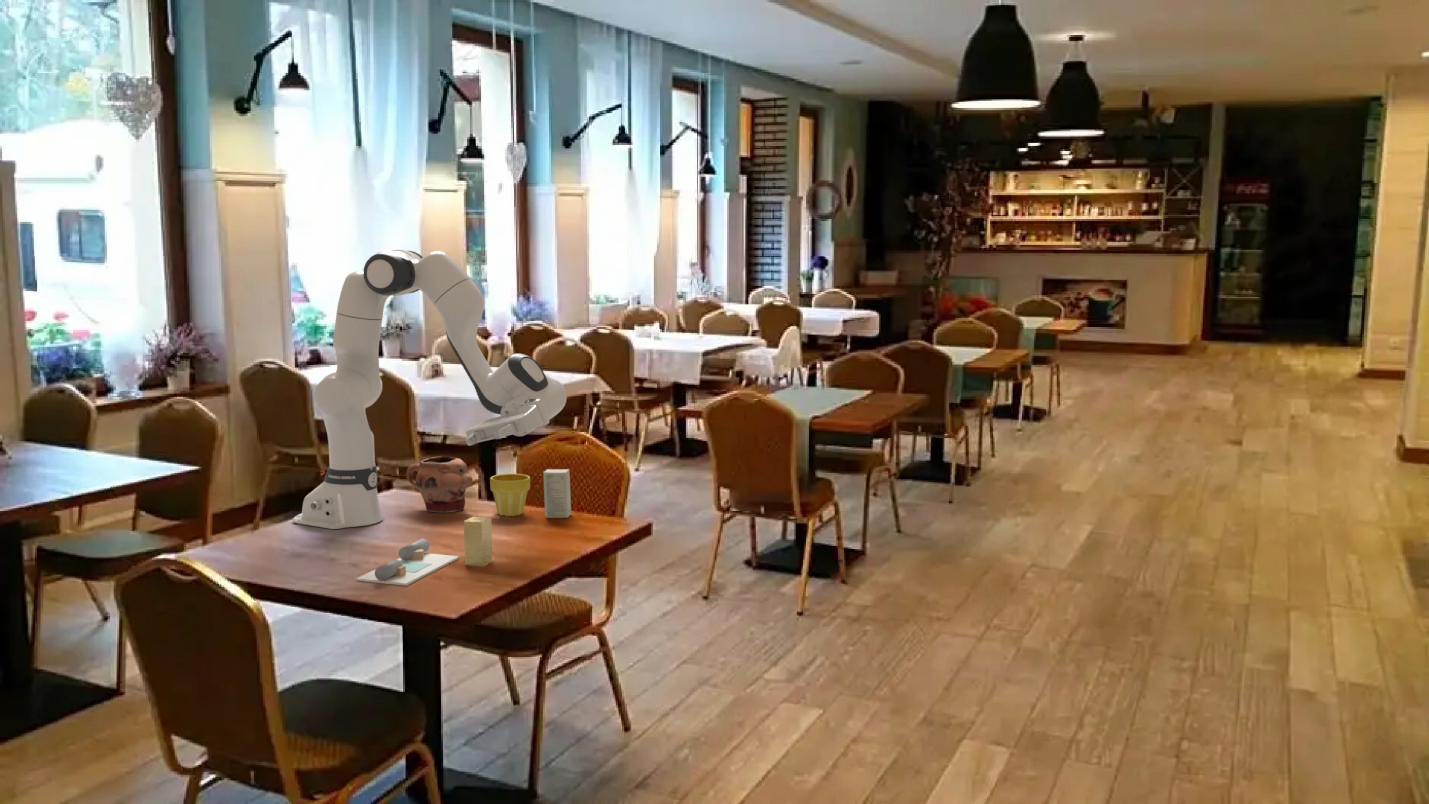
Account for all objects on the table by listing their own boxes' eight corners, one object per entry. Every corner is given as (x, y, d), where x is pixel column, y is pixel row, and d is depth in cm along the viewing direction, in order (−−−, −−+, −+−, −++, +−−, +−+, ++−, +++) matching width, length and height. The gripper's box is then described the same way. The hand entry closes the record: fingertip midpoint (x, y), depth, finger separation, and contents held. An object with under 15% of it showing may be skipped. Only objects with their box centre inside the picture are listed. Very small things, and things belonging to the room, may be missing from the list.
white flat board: (415, 552, 271) (415, 537, 271) (461, 557, 268) (461, 542, 267) (356, 580, 250) (355, 564, 249) (406, 585, 246) (405, 569, 246)
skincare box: (571, 514, 309) (570, 469, 307) (567, 518, 305) (567, 472, 303) (547, 513, 310) (547, 468, 308) (543, 517, 305) (543, 471, 304)
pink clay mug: (394, 512, 311) (392, 460, 309) (417, 502, 322) (415, 452, 321) (463, 517, 306) (461, 464, 304) (484, 506, 317) (482, 456, 315)
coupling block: (465, 564, 262) (463, 521, 260) (474, 559, 266) (473, 516, 264) (482, 566, 260) (481, 522, 259) (492, 561, 265) (491, 518, 263)
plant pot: (530, 508, 316) (529, 472, 315) (531, 517, 306) (530, 480, 305) (491, 509, 314) (490, 473, 313) (490, 518, 304) (489, 481, 303)
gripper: (483, 412, 288) (446, 434, 277) (544, 397, 277) (508, 419, 265) (493, 436, 289) (457, 458, 278) (555, 421, 278) (519, 444, 267)
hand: (482, 439), depth 272 cm, fingers open, 8 cm apart
